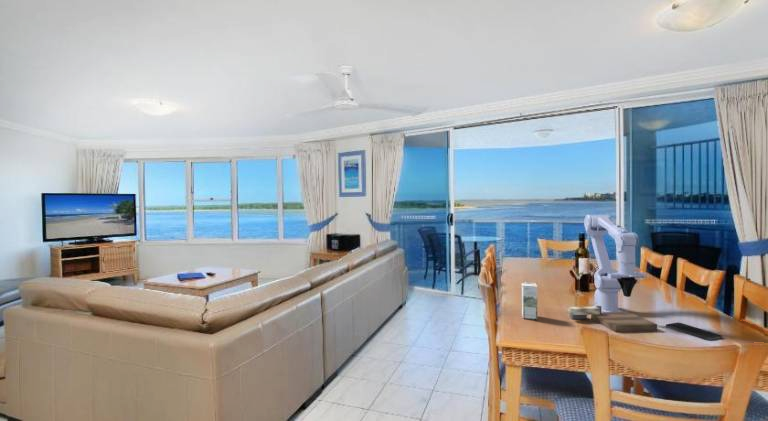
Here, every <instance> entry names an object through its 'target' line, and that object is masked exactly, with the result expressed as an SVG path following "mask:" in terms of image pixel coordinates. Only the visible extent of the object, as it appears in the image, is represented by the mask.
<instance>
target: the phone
mask: <svg viewBox="0 0 768 421" xmlns="http://www.w3.org/2000/svg"><path fill="white" fill-rule="evenodd" d="M665 327H666V328H668V329H671V330H674V331H676V332H680V333H682V334H686V335H688V336H692V337H695V338H698V339H700V340H701V339H702V340H704V341H706V342H707V341H709V342H711V341H715V340H722V339H723V334H719V333H715V332H712V331H709V330H707V329H702V328H700V327H699V328H698V327H696V326H694V325H693V326H692V325H689V324H686V323H683V322H672V323H667V324H665Z"/></svg>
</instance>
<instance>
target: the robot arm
mask: <svg viewBox="0 0 768 421" xmlns="http://www.w3.org/2000/svg"><path fill="white" fill-rule="evenodd" d="M583 220H584V221H583V224H584V228H585V232H586V234H587V235H588V236H590V240H591V244H592V248H593V251H594V255H595V259H596V260H595V261H596V262H597V266H598V270H596V271H595V272H594V275H593V278H594V286H595V288H596V289H595V291H594V305H592V307H596V306H601V312H624V311H623V310H620V308H619V292H620V291H622V294H623V296H624V297H628V298H629V297H631V296H632V292H633V290H634V287H635V285H637V283H638V279H646V278H647V273H645V272H636V248H637V247H638V245H639V242H640V240H639V237H638V234H637V233H636V232H629V231H628V230H626V228H624V227H622V225H621V224H615V223H614V222H613V221H612V217H611V216H610V215H609V214H586V215H585V217H584V219H583ZM607 234H608V236H610V238H612V239H613V240H614V242H615V245H616V246H615V247H616V251H617V260H618V261H617V262H618V266H617V268H618V270H616V268H613V267H612V264H611V259H610V257H609V253H608V250H607V246H606V242H605V239H604V236H605V235H607Z"/></svg>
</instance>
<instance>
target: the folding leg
mask: <svg viewBox="0 0 768 421" xmlns="http://www.w3.org/2000/svg"><path fill="white" fill-rule="evenodd" d="M566 312H567V314H568V315H569V316H570V315H587V316H589V315H590V316H591V315H598V314H601V312H602V311H601V306H596V307H593V306H568V307H567V311H566Z"/></svg>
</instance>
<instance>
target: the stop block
mask: <svg viewBox="0 0 768 421" xmlns="http://www.w3.org/2000/svg"><path fill="white" fill-rule="evenodd" d="M587 317H588V315H570V314H569V319H571V320H587Z"/></svg>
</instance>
